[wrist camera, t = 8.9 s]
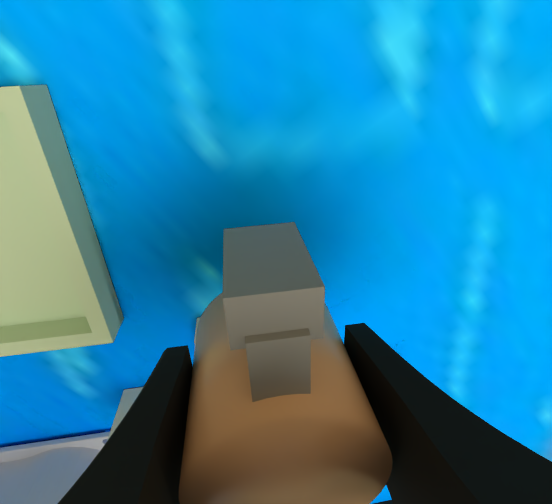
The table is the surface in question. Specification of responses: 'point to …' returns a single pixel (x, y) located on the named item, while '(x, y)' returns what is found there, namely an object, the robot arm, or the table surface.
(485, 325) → the table surface
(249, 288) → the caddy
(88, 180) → the table surface
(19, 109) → the tray
